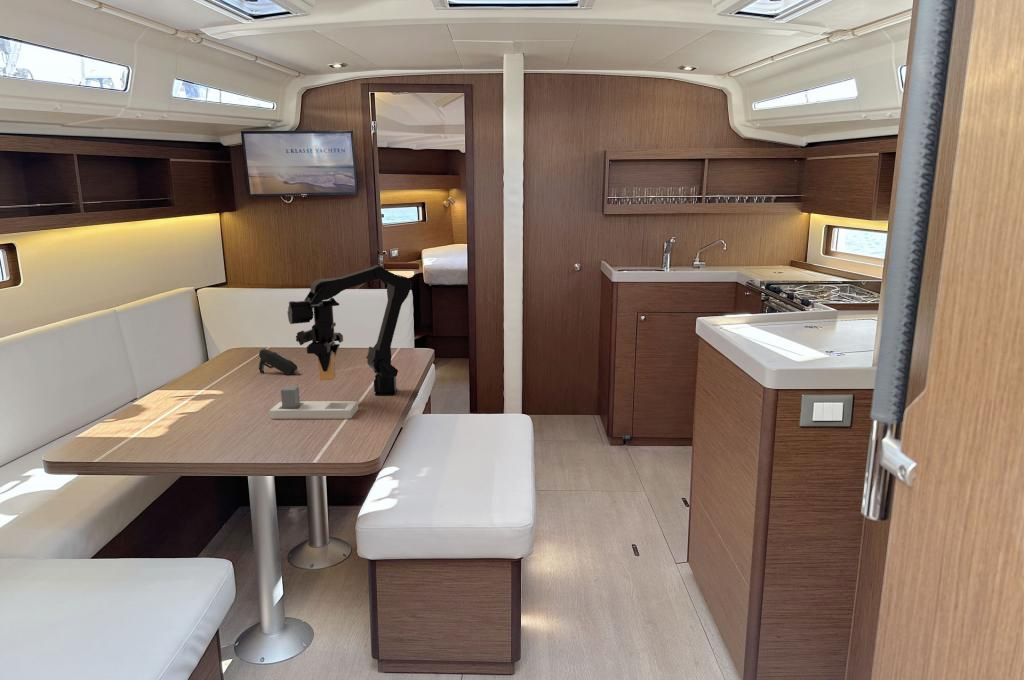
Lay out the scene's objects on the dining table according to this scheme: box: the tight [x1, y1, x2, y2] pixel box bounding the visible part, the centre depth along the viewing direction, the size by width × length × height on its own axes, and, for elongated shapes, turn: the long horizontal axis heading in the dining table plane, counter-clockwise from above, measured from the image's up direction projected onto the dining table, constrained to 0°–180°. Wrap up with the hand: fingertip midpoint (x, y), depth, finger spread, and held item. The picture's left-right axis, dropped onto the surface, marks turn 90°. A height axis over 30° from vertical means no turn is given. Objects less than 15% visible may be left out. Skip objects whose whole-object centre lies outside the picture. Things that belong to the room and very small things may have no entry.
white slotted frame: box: [268, 400, 359, 420], centre depth 207 cm, size 24×9×2 cm, turn 88°
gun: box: [258, 348, 300, 376], centre depth 253 cm, size 3×16×10 cm, turn 79°
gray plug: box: [280, 385, 301, 409], centre depth 206 cm, size 4×4×8 cm
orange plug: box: [317, 352, 337, 381], centre depth 216 cm, size 4×4×8 cm
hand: (327, 369), depth 216 cm, fingers closed on orange plug, 4 cm apart
